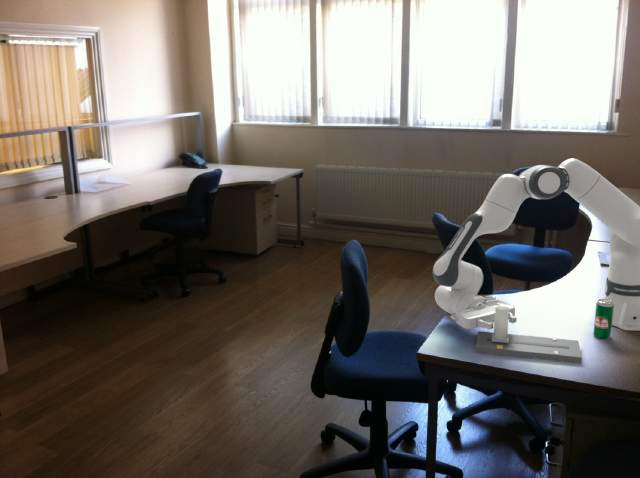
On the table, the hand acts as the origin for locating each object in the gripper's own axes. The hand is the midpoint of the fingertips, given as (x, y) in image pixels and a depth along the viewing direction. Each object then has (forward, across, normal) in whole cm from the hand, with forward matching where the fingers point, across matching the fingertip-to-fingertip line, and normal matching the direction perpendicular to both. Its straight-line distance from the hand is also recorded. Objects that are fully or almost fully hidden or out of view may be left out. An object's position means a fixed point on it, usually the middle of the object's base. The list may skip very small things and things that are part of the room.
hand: (503, 323), depth 194 cm
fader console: (+5, +6, +8) cm, 11 cm away
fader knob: (-1, 0, +5) cm, 5 cm away
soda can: (+10, +33, +8) cm, 36 cm away
